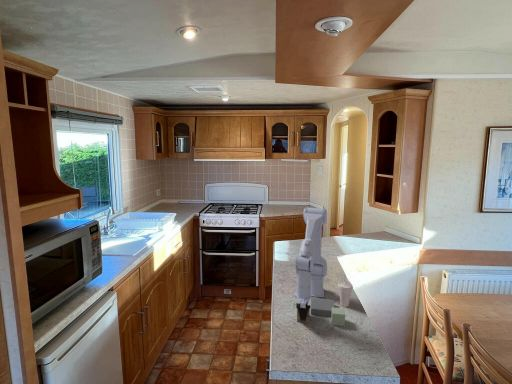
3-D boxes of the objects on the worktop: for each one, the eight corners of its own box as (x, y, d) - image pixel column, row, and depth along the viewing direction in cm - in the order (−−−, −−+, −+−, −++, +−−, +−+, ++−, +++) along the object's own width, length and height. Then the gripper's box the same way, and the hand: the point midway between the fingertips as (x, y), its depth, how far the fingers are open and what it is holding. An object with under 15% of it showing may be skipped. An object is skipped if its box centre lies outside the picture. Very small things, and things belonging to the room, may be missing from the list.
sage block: (331, 318, 132) (331, 307, 131) (343, 319, 131) (344, 308, 130) (331, 325, 127) (332, 313, 126) (344, 326, 126) (345, 314, 125)
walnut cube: (297, 315, 134) (297, 304, 134) (309, 316, 133) (309, 305, 133) (296, 321, 129) (297, 310, 129) (309, 322, 128) (309, 311, 128)
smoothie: (340, 300, 147) (342, 271, 145) (354, 304, 143) (355, 275, 141) (334, 305, 142) (335, 275, 140) (348, 309, 138) (349, 279, 136)
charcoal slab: (311, 303, 144) (311, 297, 144) (333, 305, 143) (333, 299, 142) (310, 315, 135) (310, 308, 134) (334, 317, 133) (334, 311, 132)
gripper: (295, 276, 137) (294, 306, 139) (292, 291, 123) (292, 324, 125) (311, 278, 136) (311, 307, 138) (311, 293, 122) (310, 325, 124)
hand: (303, 315), depth 131 cm, fingers open, 7 cm apart
